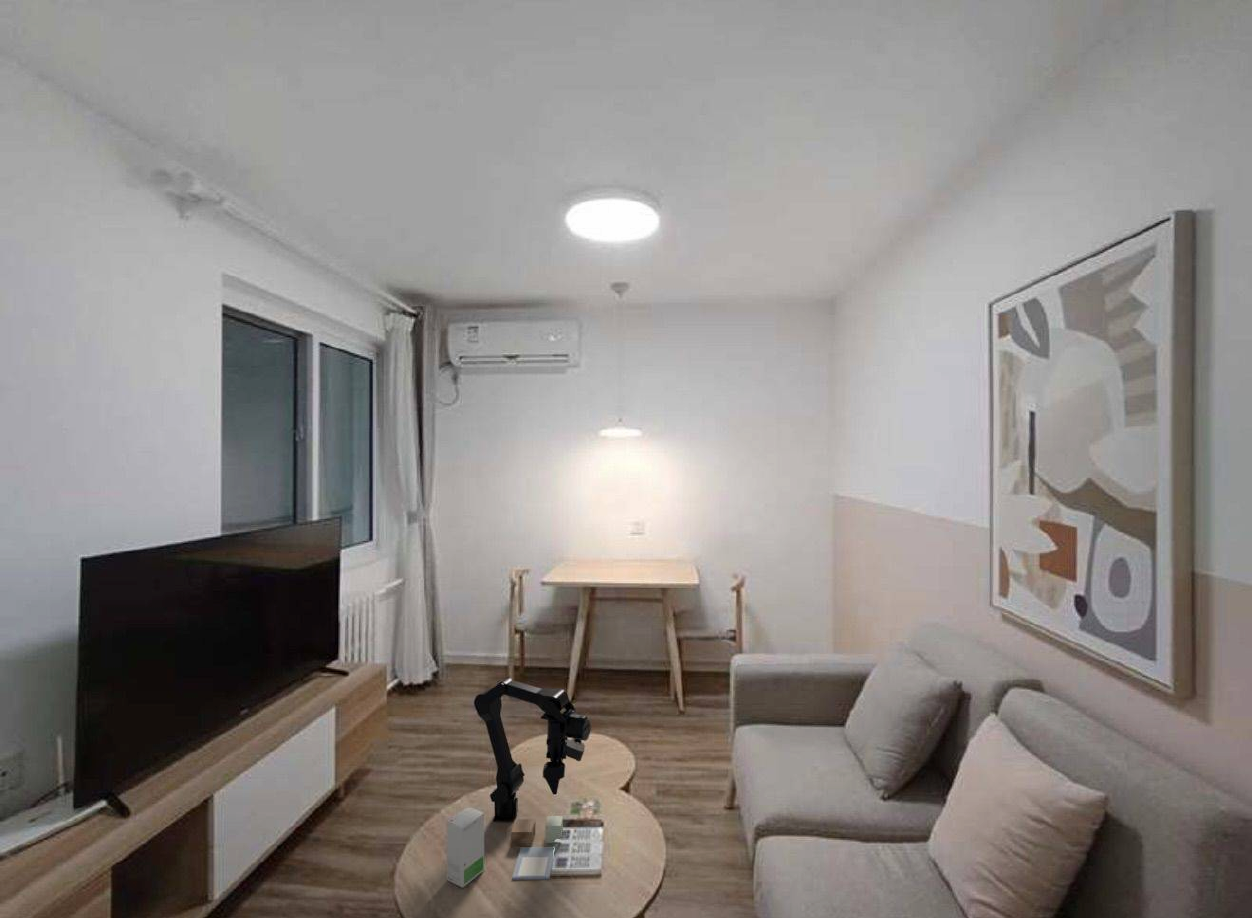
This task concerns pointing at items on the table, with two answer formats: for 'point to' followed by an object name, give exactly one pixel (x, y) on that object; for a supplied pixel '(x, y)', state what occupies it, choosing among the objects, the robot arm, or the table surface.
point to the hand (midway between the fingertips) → (556, 785)
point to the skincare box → (465, 846)
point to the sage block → (553, 828)
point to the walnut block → (523, 833)
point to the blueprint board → (533, 863)
